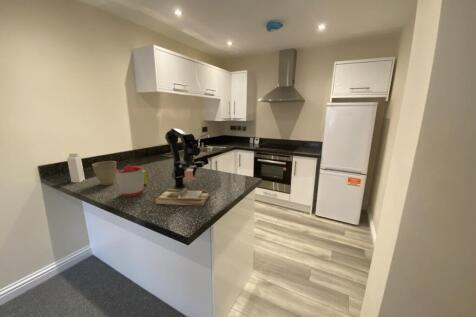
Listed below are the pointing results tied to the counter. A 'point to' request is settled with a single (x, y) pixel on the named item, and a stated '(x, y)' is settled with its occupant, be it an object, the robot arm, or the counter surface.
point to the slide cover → (190, 194)
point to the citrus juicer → (130, 180)
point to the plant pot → (105, 171)
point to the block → (189, 174)
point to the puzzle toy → (145, 177)
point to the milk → (75, 168)
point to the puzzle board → (181, 201)
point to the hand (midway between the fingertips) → (189, 176)
